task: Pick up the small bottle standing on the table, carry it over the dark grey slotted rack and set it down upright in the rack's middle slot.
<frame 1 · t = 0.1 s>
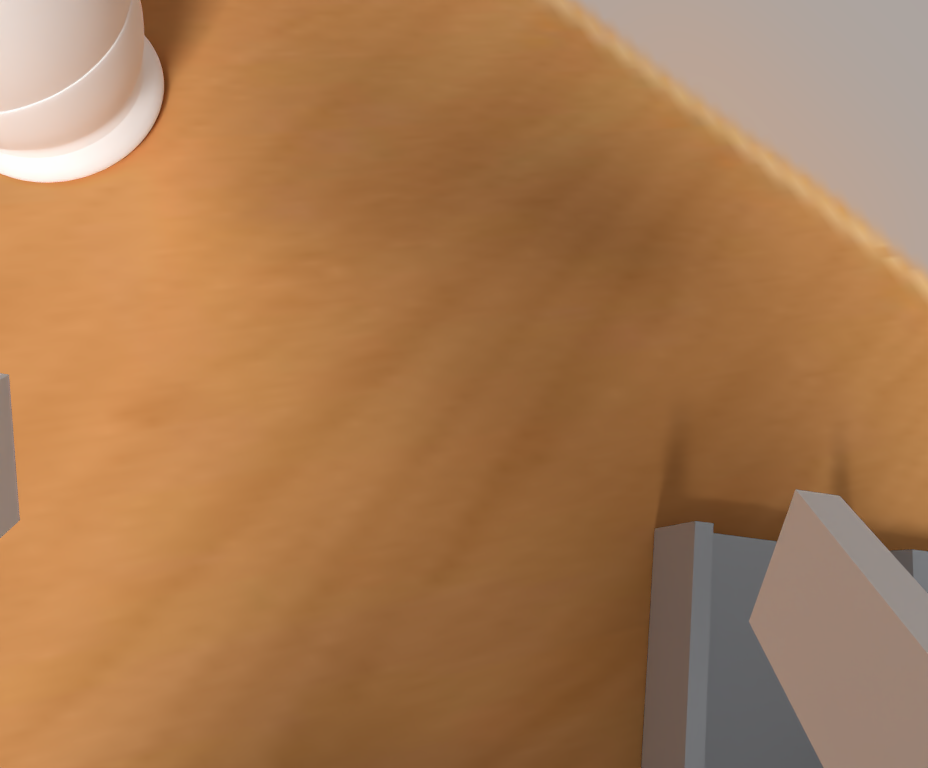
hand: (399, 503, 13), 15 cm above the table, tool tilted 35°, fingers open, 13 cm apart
jar: (63, 99, 31), on the table
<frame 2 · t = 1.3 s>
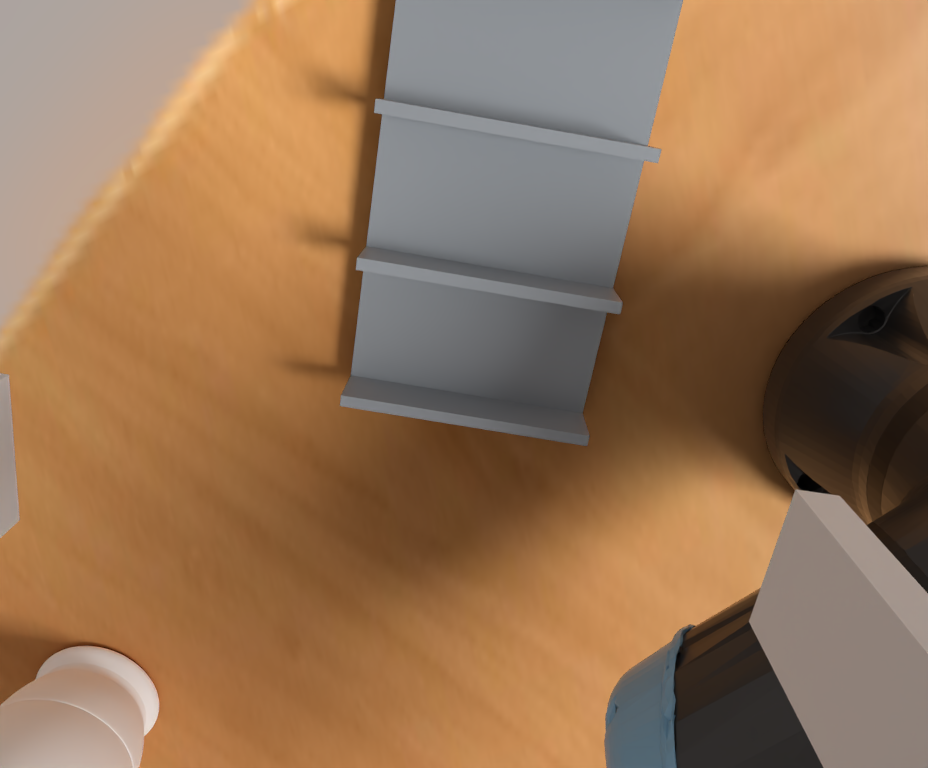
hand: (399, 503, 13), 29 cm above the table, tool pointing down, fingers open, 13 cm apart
rack: (501, 200, 39), on the table
jar: (101, 690, 51), on the table
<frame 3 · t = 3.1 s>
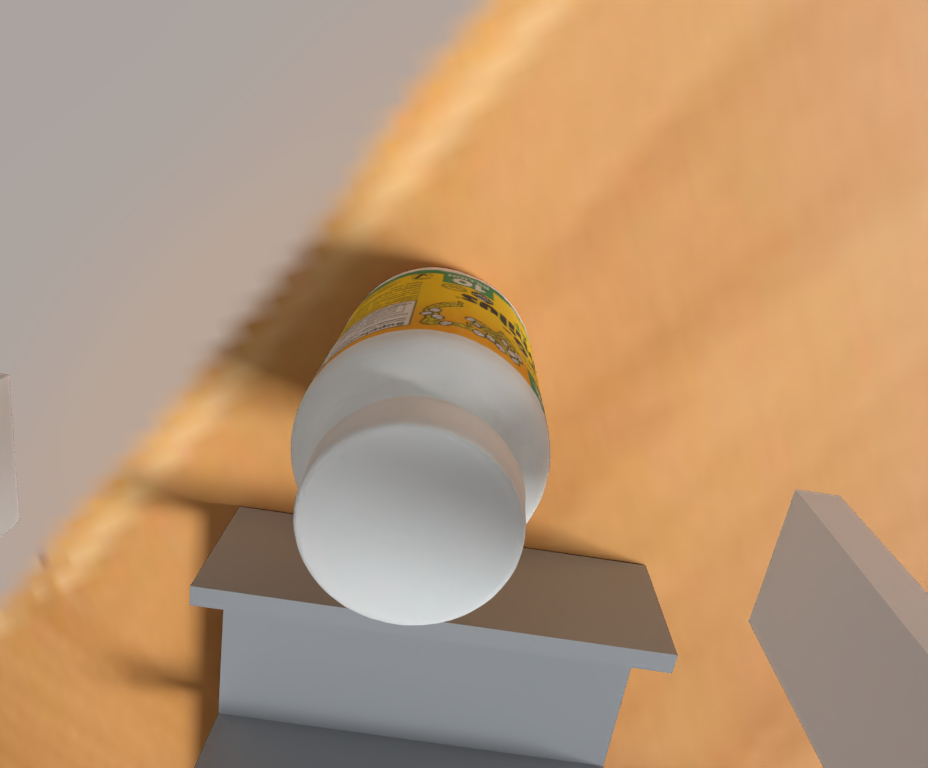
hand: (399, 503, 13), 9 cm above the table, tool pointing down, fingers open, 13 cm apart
supplement bottle: (439, 353, 22), on the table
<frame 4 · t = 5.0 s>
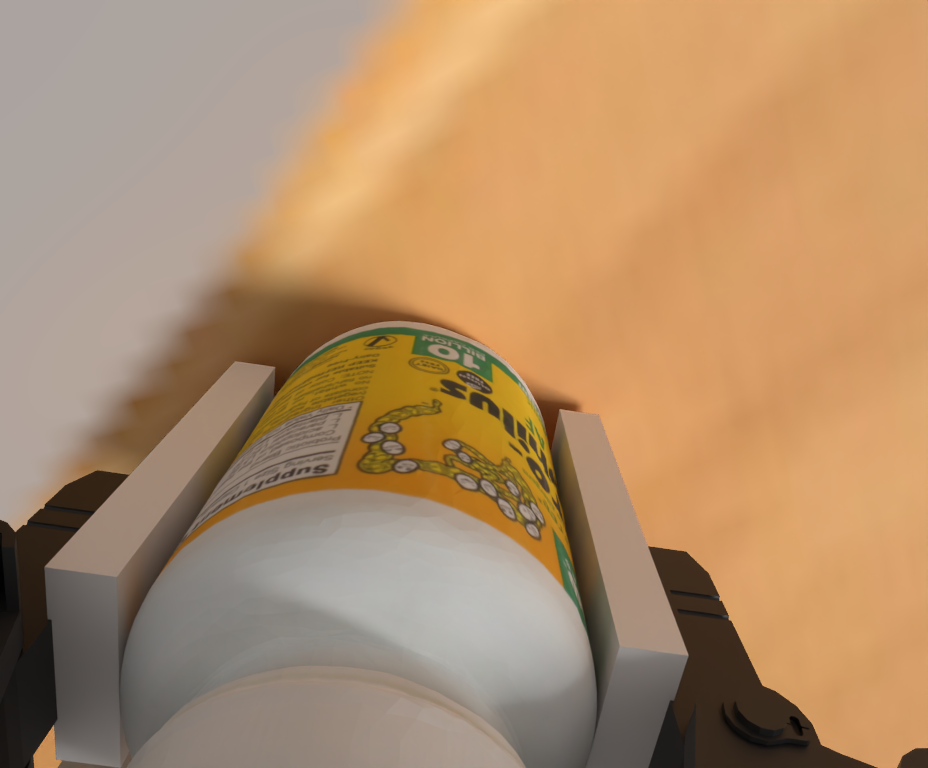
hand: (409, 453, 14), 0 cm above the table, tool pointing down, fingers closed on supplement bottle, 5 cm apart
supplement bottle: (412, 441, 15), on the table, touching gripper
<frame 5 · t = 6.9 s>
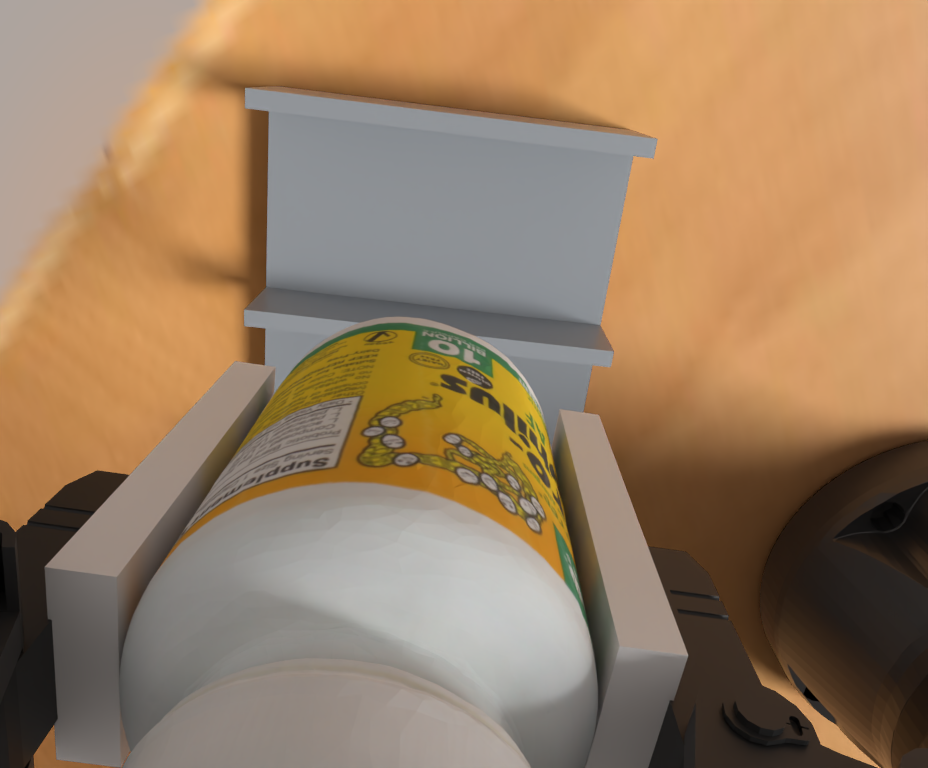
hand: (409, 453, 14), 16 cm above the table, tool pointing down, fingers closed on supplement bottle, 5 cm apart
rack: (426, 386, 31), on the table
supplement bottle: (412, 437, 15), point 16 cm above the table, touching gripper
when the fingers open (4 cm above the table, at t = 9.2 s): supplement bottle drops 2 cm, resting on rack.
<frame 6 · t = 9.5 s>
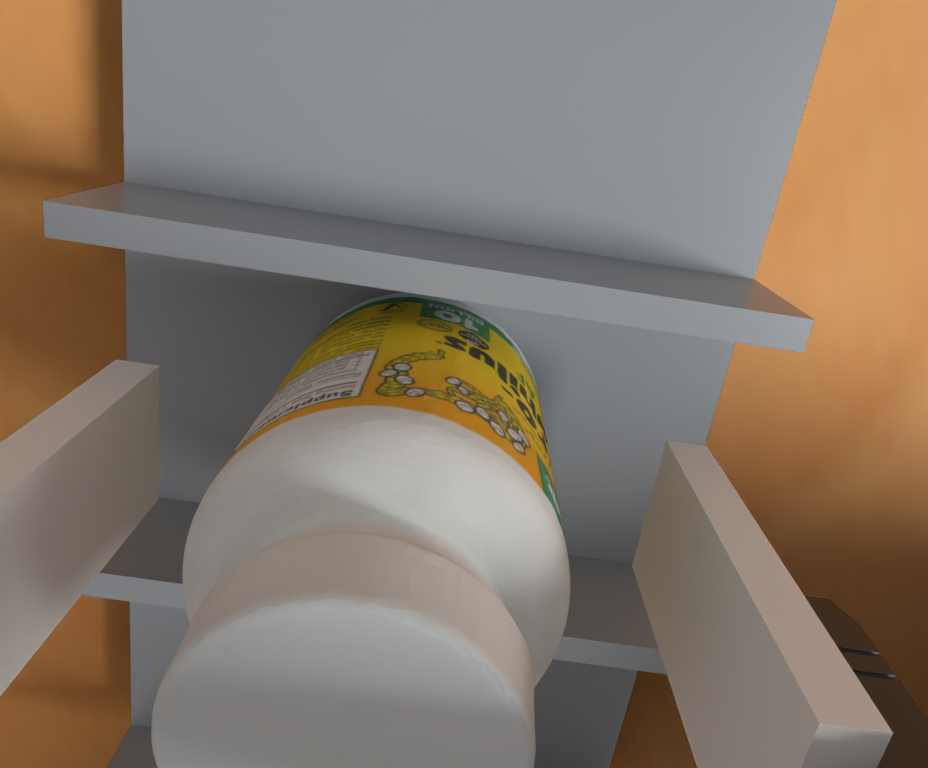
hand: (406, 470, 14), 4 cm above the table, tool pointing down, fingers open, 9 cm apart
rack: (423, 385, 18), on the table
supplement bottle: (419, 402, 17), point 1 cm above the table, touching rack
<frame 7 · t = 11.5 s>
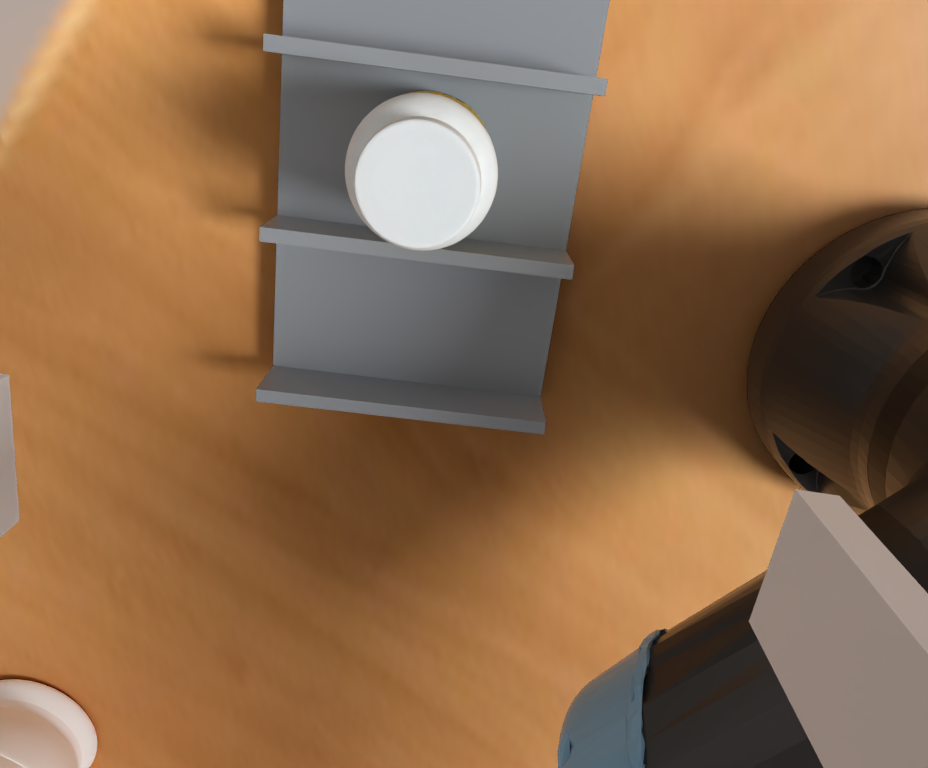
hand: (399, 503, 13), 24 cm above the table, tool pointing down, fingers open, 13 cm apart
rack: (431, 154, 33), on the table
supplement bottle: (430, 156, 32), point 1 cm above the table, touching rack
jar: (33, 726, 46), on the table
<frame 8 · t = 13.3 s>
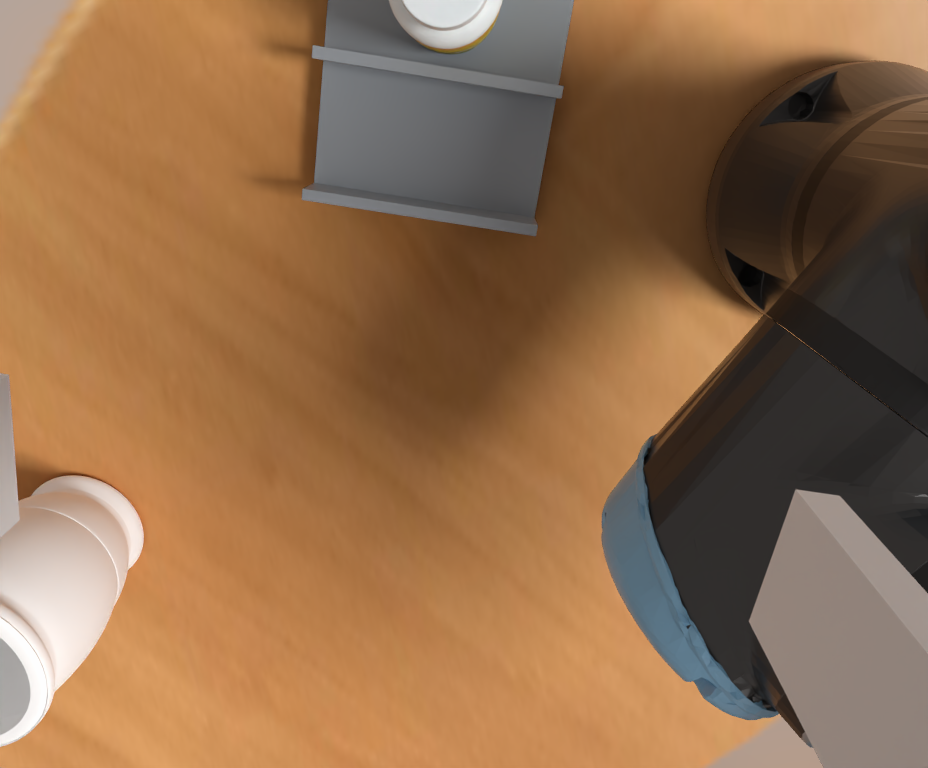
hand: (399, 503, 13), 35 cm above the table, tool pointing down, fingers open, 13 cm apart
rack: (451, 4, 41), on the table
supplement bottle: (450, 2, 40), point 1 cm above the table, touching rack
jar: (89, 524, 54), on the table
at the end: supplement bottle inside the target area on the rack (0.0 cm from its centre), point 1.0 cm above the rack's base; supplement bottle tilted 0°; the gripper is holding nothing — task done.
